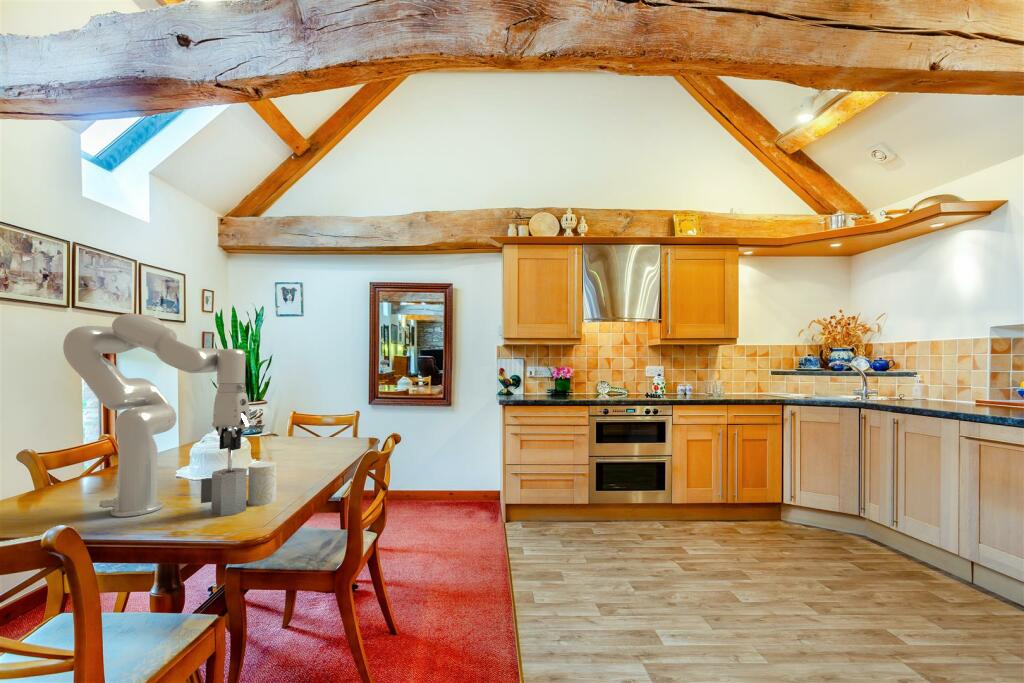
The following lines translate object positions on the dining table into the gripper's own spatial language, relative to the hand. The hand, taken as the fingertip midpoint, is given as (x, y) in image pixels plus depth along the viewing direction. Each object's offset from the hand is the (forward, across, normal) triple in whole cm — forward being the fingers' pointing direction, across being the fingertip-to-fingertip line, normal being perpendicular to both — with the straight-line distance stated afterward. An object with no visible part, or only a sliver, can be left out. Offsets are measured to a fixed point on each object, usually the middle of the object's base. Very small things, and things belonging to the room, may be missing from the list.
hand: (230, 448), depth 148 cm
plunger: (+12, 0, 0) cm, 12 cm away
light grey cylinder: (+19, -2, -11) cm, 22 cm away
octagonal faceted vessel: (+19, +1, +1) cm, 19 cm away
